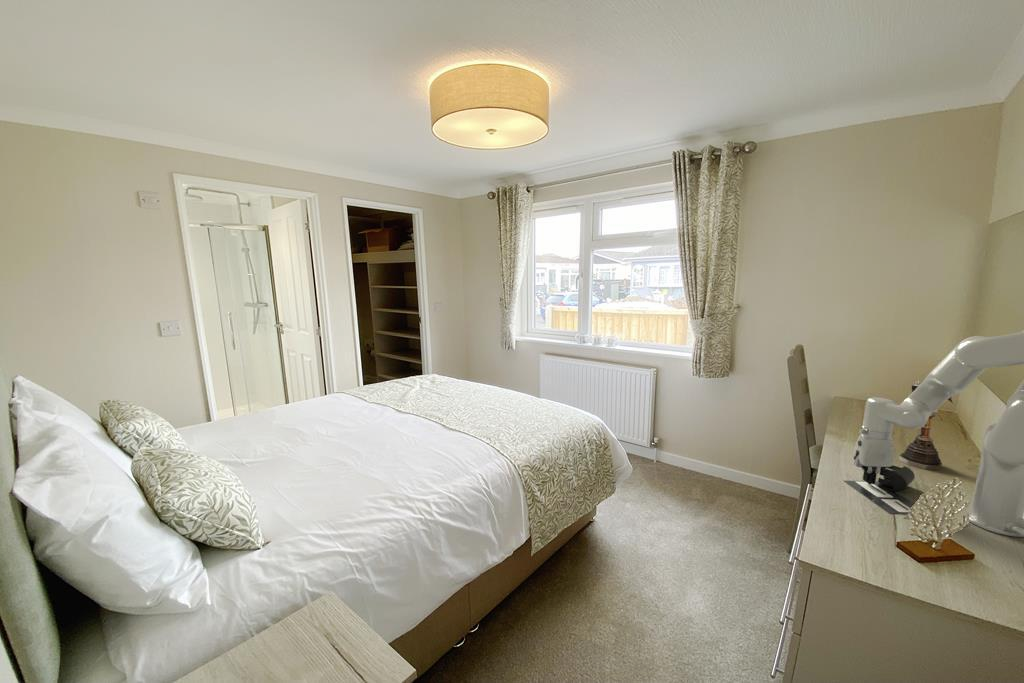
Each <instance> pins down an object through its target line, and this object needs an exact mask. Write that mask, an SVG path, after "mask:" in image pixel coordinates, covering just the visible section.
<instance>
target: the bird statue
mask: <svg viewBox="0 0 1024 683" xmlns="http://www.w3.org/2000/svg"><path fill="white" fill-rule="evenodd" d="M921 383H922V382H921ZM921 383H920V380H917V382H915V384H912V385H911V393H912V392H913V391H914V390H915V389H916V388H917V387H918V386H919V385H920V384H921ZM946 401H949V402H951V403H952V404H954V402H953V398H952V397H950V398H949V399H947V400H946ZM937 413H939V410H938V409H936V410H935V411H934V412H933V413H932V414H931V415H930V416H929V418H928V420H927V423H926V424H925V425H924V426H923V427H921V428H920V434H918V435H916V436H915V439H914V440H913V441H912V442H911V443H910V444H908V446H906V449H905V451H904V452H902V453H900V454H899V456H898V460H899V461H900V462H903V463H904V464H906V465H908V466H911V467H916V468H918V469H923V470H931V471H933V470H934V471H940V470H941V468H942V465H943V462H942V460H941V459H940V457H939V452H938V451H937V450H938V449H937V448H935V445H934V443H933V441H934V439H932V438H931V436H930V429H932V427H931V425H932V419H933V418H935V417H937Z"/></svg>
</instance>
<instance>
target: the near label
mask: <svg viewBox="0 0 1024 683" xmlns="http://www.w3.org/2000/svg"><path fill="white" fill-rule="evenodd" d="M881 500H882V501H884V502H885V503H887V504H888V505H890V506H891V507H893V508H894V509H896V510H897V511H899V512H909V510H910V509H911V508H909V507H908V506H906V505H905V504H903V503H902V502H900V501H898V500H888V499H881Z"/></svg>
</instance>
